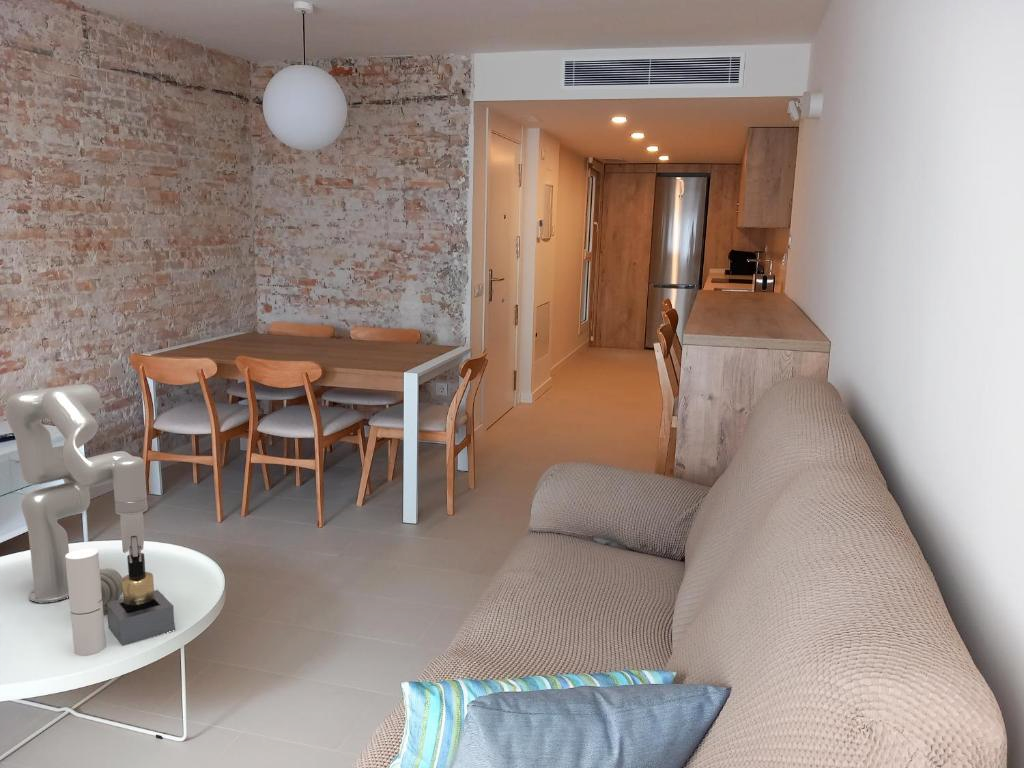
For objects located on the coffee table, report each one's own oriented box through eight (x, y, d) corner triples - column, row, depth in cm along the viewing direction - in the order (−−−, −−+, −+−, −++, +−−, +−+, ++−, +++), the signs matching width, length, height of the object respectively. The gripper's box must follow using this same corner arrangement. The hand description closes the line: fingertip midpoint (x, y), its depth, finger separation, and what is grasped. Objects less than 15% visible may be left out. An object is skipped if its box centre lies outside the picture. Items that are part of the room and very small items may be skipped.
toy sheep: (70, 622, 220) (67, 583, 219) (97, 595, 237) (94, 559, 235) (111, 620, 221) (108, 581, 219) (135, 594, 238) (132, 558, 236)
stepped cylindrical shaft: (120, 598, 215) (116, 554, 213) (149, 590, 220) (146, 548, 218) (128, 607, 210) (124, 563, 208) (158, 599, 214) (155, 556, 212)
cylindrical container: (111, 641, 210) (103, 548, 205) (98, 655, 202) (89, 558, 198) (82, 642, 209) (74, 548, 205) (68, 655, 202) (59, 559, 198)
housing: (108, 627, 217) (106, 602, 216) (159, 613, 225) (157, 589, 224) (122, 645, 207) (119, 619, 206) (174, 630, 215) (173, 605, 214)
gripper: (114, 497, 216) (120, 563, 219) (115, 516, 201) (121, 587, 205) (145, 494, 220) (150, 559, 223) (148, 512, 205) (153, 582, 208)
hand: (136, 572), depth 214 cm, fingers closed on stepped cylindrical shaft, 4 cm apart
